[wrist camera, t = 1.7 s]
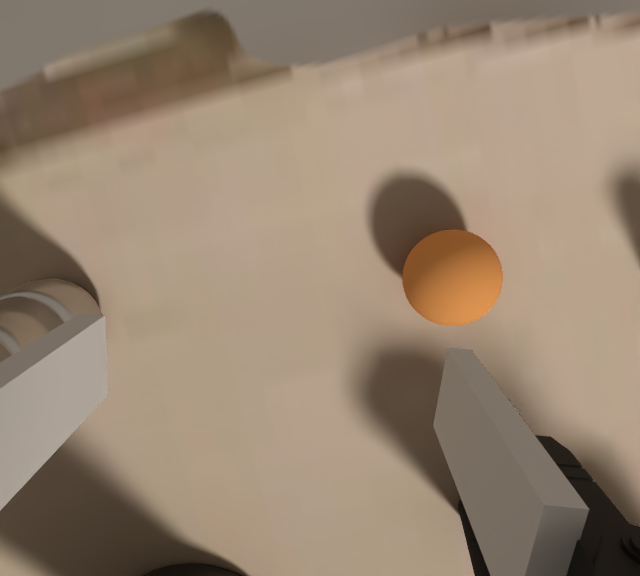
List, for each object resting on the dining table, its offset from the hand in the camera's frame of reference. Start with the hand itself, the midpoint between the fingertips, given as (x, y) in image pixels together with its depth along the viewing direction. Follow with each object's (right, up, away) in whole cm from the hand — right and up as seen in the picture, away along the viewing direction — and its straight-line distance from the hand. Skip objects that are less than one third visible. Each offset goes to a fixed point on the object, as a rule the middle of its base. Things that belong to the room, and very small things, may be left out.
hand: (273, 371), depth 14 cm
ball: (+10, +3, +14) cm, 18 cm away
